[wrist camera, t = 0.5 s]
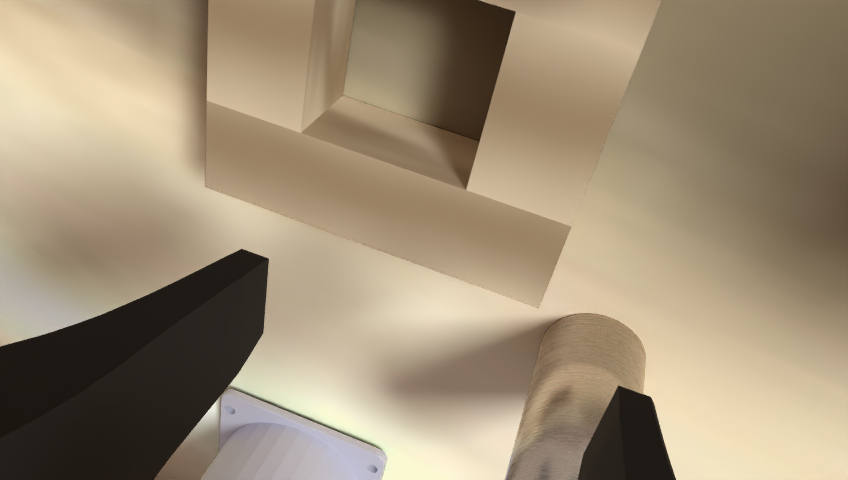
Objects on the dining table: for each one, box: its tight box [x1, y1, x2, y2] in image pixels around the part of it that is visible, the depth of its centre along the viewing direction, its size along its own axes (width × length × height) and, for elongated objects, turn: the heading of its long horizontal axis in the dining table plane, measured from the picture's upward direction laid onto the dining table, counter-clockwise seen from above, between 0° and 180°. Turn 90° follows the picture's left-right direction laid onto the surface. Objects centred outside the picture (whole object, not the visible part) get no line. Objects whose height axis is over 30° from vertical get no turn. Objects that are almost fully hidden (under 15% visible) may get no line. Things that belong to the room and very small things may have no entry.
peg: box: [505, 314, 646, 480], centre depth 21 cm, size 4×4×8 cm
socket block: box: [205, 0, 662, 308], centre depth 19 cm, size 11×11×3 cm
